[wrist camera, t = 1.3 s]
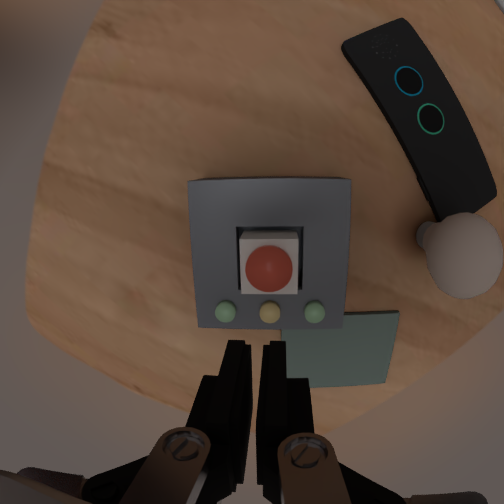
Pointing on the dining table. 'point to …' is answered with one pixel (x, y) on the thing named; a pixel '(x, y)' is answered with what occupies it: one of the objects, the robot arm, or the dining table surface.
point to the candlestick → (500, 4)
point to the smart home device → (423, 117)
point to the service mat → (343, 350)
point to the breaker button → (269, 262)
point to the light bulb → (462, 254)
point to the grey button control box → (270, 218)
